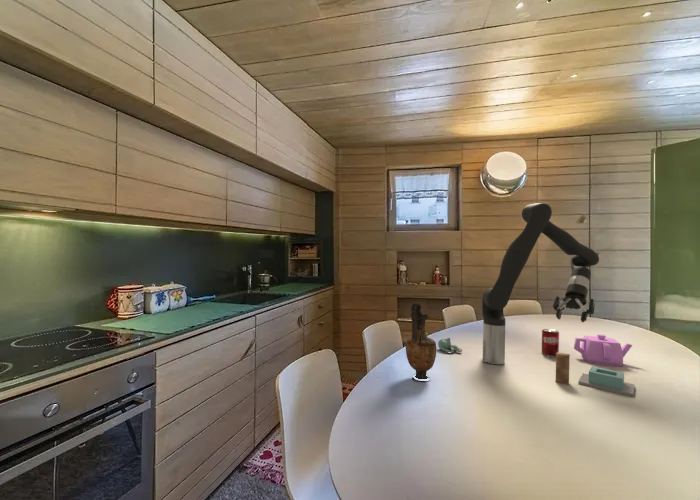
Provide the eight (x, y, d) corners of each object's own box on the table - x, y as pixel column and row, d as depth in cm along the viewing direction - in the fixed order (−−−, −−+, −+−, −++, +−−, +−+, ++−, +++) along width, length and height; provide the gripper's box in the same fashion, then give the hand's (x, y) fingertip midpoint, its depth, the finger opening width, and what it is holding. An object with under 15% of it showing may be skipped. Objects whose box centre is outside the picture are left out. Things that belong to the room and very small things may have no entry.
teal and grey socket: (578, 383, 127) (578, 370, 127) (582, 375, 136) (583, 363, 136) (633, 396, 116) (633, 382, 116) (634, 386, 125) (634, 373, 125)
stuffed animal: (459, 345, 158) (436, 336, 165) (456, 359, 158) (433, 349, 165) (466, 340, 166) (444, 332, 173) (463, 354, 167) (441, 345, 174)
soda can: (561, 357, 159) (561, 332, 159) (544, 356, 160) (545, 331, 160) (555, 353, 166) (555, 329, 166) (539, 352, 167) (539, 328, 167)
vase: (441, 378, 129) (442, 301, 129) (424, 387, 120) (426, 304, 120) (415, 370, 137) (416, 298, 137) (397, 378, 128) (399, 301, 128)
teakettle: (570, 357, 159) (571, 332, 159) (592, 354, 166) (593, 329, 166) (610, 369, 144) (611, 341, 144) (633, 365, 151) (633, 337, 151)
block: (555, 382, 128) (556, 353, 128) (556, 380, 130) (557, 352, 130) (567, 385, 125) (568, 355, 126) (569, 383, 127) (569, 354, 127)
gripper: (556, 282, 147) (548, 312, 140) (595, 283, 137) (588, 316, 129) (561, 292, 151) (553, 322, 144) (599, 294, 140) (593, 327, 133)
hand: (570, 319), depth 137 cm, fingers open, 8 cm apart
